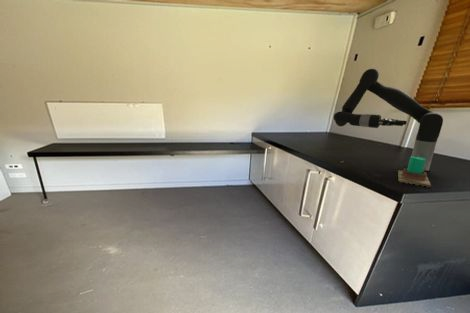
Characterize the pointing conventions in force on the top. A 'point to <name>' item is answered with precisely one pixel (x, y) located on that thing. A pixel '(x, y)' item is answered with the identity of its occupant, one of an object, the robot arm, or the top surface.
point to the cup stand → (413, 178)
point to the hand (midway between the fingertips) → (404, 123)
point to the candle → (416, 164)
